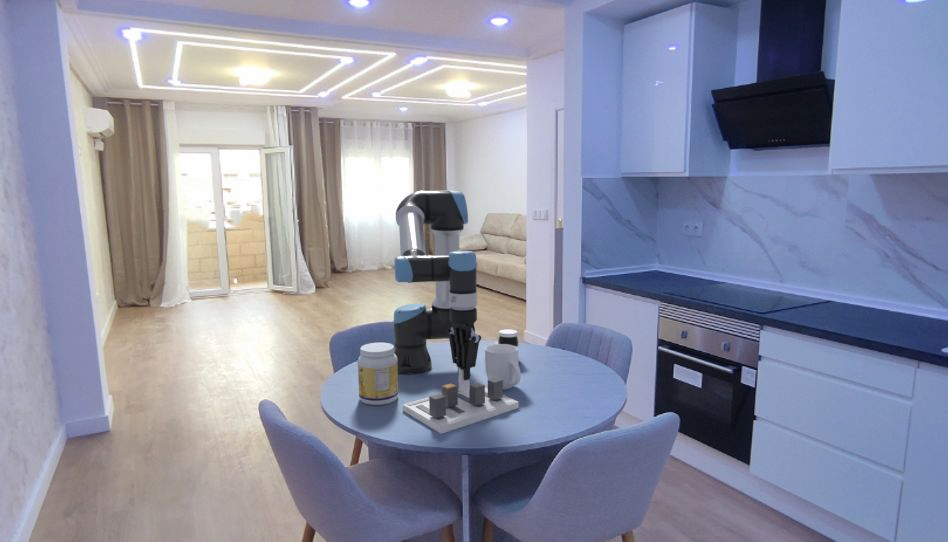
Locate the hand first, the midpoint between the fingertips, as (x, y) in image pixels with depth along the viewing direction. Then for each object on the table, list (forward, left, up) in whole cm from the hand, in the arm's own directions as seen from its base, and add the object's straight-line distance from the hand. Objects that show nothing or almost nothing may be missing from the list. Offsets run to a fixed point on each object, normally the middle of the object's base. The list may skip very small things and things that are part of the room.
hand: (464, 389), depth 154 cm
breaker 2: (-7, 0, -7) cm, 10 cm away
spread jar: (-35, +45, -10) cm, 58 cm away
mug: (-13, +26, -9) cm, 31 cm away
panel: (-7, +4, -9) cm, 12 cm away
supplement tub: (-30, -11, -9) cm, 34 cm away
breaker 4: (-3, +14, -7) cm, 16 cm away
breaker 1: (-3, -7, -7) cm, 10 cm away
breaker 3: (-3, +7, -7) cm, 10 cm away
